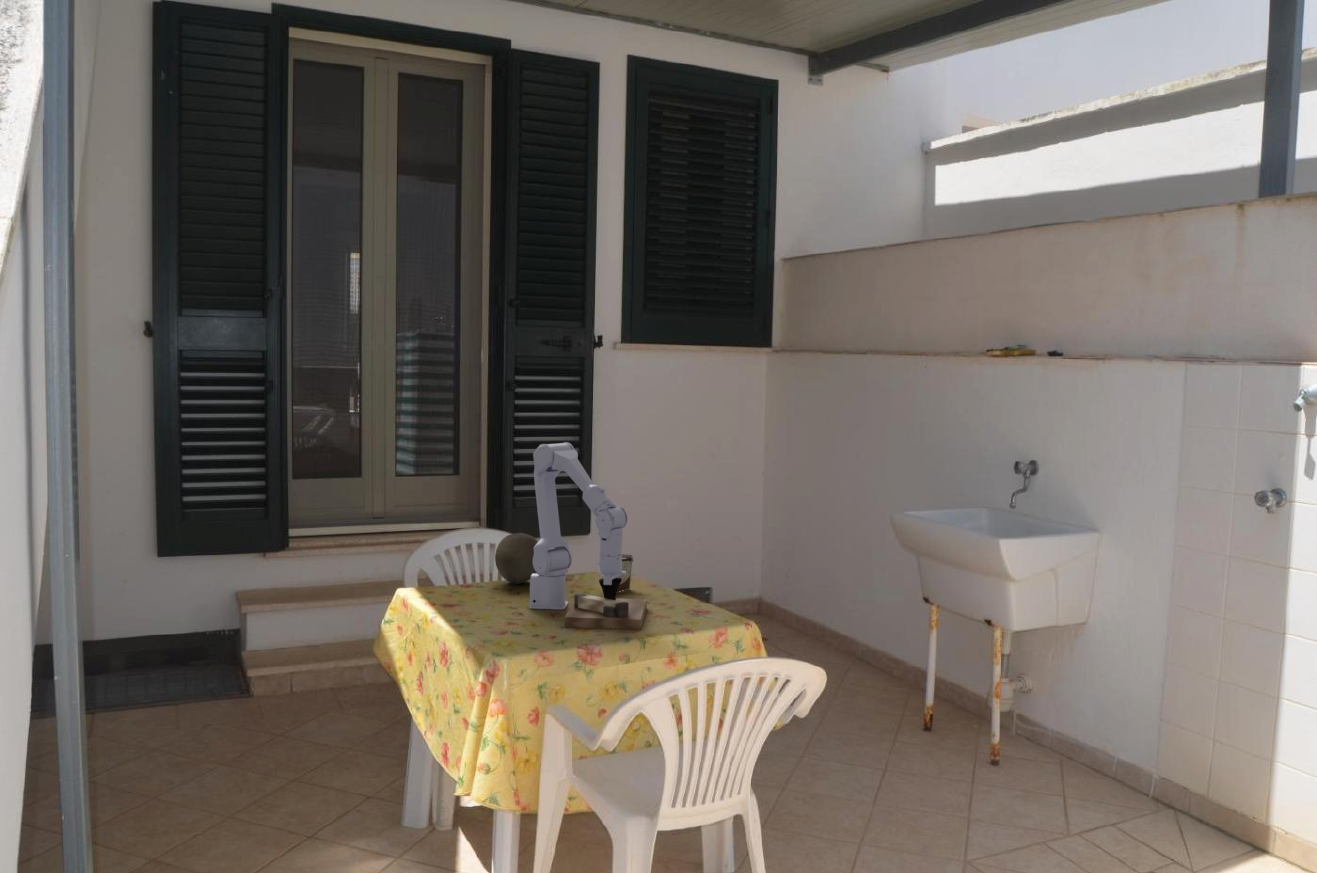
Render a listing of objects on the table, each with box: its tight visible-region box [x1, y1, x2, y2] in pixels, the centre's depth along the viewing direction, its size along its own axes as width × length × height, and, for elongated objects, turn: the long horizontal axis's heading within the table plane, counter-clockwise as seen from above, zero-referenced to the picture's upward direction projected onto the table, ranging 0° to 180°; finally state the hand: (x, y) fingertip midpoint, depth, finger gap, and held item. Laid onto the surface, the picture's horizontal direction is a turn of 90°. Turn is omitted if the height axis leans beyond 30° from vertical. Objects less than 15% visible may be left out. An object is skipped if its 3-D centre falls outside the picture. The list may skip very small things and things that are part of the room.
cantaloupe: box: [494, 532, 539, 585], centre depth 312 cm, size 14×14×15 cm
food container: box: [598, 553, 634, 592], centre depth 306 cm, size 12×6×10 cm, turn 144°
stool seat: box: [564, 597, 648, 630], centre depth 275 cm, size 19×22×5 cm
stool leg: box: [573, 593, 629, 617], centre depth 271 cm, size 17×3×3 cm, turn 51°
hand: (609, 606), depth 273 cm, fingers closed, pressing on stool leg
